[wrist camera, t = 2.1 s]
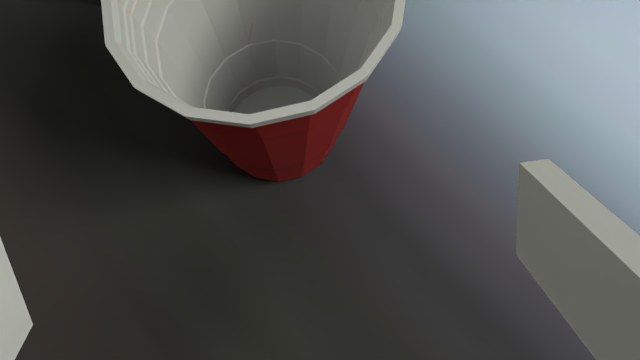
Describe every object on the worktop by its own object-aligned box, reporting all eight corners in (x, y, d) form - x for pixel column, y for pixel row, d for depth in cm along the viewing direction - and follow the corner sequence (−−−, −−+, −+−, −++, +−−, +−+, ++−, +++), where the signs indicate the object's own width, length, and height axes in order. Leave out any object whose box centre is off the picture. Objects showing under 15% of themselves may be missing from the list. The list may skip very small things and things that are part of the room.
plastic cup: (276, 7, 35) (254, -183, 23) (420, 125, 32) (474, -26, 21) (131, 133, 32) (27, -15, 21) (276, 272, 29) (247, 190, 18)
